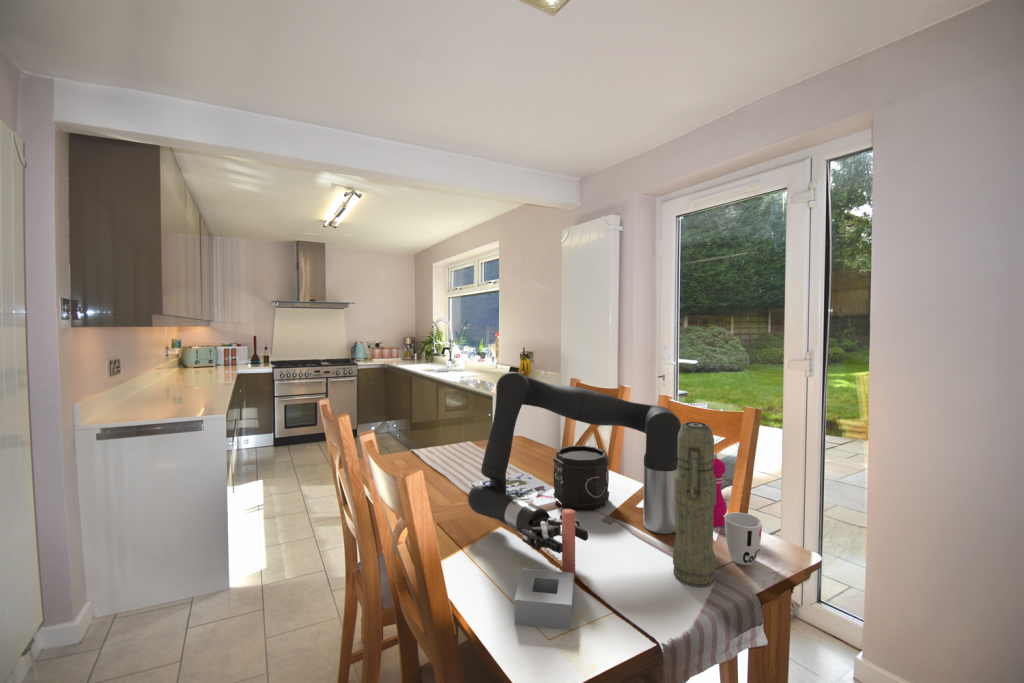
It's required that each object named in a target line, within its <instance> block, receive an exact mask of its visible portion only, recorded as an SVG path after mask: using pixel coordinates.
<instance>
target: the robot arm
mask: <svg viewBox="0 0 1024 683" xmlns="http://www.w3.org/2000/svg"><path fill="white" fill-rule="evenodd" d="M495 389H496V395H495V397H496V398H495V409H494V415H493V421H492V426H491V430H490V434H489V437H488V440H487V443H486V447H485V451H484V456H483V460H482V464H481V468H480V470H481V471H480V472H481V474H482V475H483V476H484V477H485V478H488V479H489V485H477V486H474V487H472V488H471V490H469V493H468V496H467V502H468V505H469V507H470V509H471V510H472V511H473V512H474V513H476V514H479V515H482V516H485V517H488V518H491V519H496V520H497V521H500V522H501V523H503V524H505V525H507V526H509V527H510V528H511V529H513V530H514V531H515V532H518V533H520V534H521V535H522V537H521V541H522V542H523V543H525V544H527V545H528V546H530V547H531V548H533V549H535V550H536V551H540V550H541V549H542V548H543V549H549V550H551V551H553V552H555V553H558V554H562V541H561V542H560V541H559V540H556V539H554V538H555V537H559V536H560V537H562V513H560V514H559V517H558V518H555V517H551V516H550V515H549V512H548V511H547V510H545V509H544V508H542V507H540V506H537V505H535V504H533V503H531V502H529V501H527V500H523V499H520V498H517V497H515V496H513V495H510V494H507V470H508V465H509V461H510V457H511V452H512V446H513V439H514V434H515V428H516V423H517V419H518V416H519V413H520V411H521V408H522V406H523V405H524V406H531V407H536V408H539V409H540V408H541V409H544V410H547V411H549V412H552V413H554V414H557V415H559V416H562V417H563V418H567V419H570V420H573V421H577V422H581V423H584V424H589V425H594V426H595V425H596V426H604V427H605V426H611V427H612V426H613V427H615V426H618V427H625V428H627V429H631V430H636V431H639V432H641V433H644V434H645V453H644V456H643V494H642V495H643V502H642V504H643V506H642V507H643V508H642V510H643V511H642V513H643V516H642V522H643V524H642V525H643V527H644V528H645V529H646V530H647V531H650V532H652V533H657V534H663V535H668V534H674V533H676V502H675V499H674V475H675V472H676V470H677V463H678V457H677V451H678V433H679V431H680V428H681V425H682V423H681V421H680V419H679V417H678V416H677V415H676V414H675V413H673V411H671V410H670V409H668V408H667V407H664V406H660V405H652V404H645V403H638V402H633V401H628V400H624V399H621V398H619V397H616V396H613V395H610V394H609V395H608V394H605V393H602V392H599V391H595V390H591V389H587V388H583V387H576V386H571V385H563V384H555V383H554V384H553V383H548V382H544V381H541V380H538V379H535V378H532V377H529V376H527V375H524V374H522V373H520V372H518V371H517V372H516V371H509V372H505V373H504V374H502V375H501V376H500V377H499V379H497V382H496V388H495ZM580 524H581V521H580V520H579V519H578V518H575V538H578V539H580V540H582V541H588V540H589V531H588V530H587V529H584V528H582V527H580V526H581V525H580Z"/></svg>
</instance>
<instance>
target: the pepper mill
mask: <svg viewBox="0 0 1024 683" xmlns="http://www.w3.org/2000/svg"><path fill="white" fill-rule="evenodd" d="M713 467H714V475H715V478H716V504H715V506H714V513H713V528H719V527H725V515H726V514H727V512H728V506H727V501H726V500H725V497H724V496H723V491H722V483H723V482H724V476H723V475H724V474H725V473H726V465H725V463H724V461H722V460H721V459H719V458H718V454H717V453H716V452H714V461H713Z"/></svg>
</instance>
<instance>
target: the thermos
mask: <svg viewBox="0 0 1024 683" xmlns="http://www.w3.org/2000/svg"><path fill="white" fill-rule="evenodd" d="M714 453H715V437H714V434H713V431H712V428H711V426H709V425H708V424H706V423H704V422H699V421H687V422H685V423H681V428H680V431H679V433H678V451H677V457H678V463H677V470H676V472H675V475H674V499H675V502H676V532H675V540H674V544H673V547H672V565H673V572H672V573H673V576H674V578H675V579H676V580H677V581H678V582H679V583H682V584H683V585H687V586H690V587H695V588H706V587H710V586H711V585H713V584H714V581H715V571H716V554H715V552H714V527H713V513H714V506H715V504H716V478H715V475H714V467H713V461H714Z"/></svg>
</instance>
